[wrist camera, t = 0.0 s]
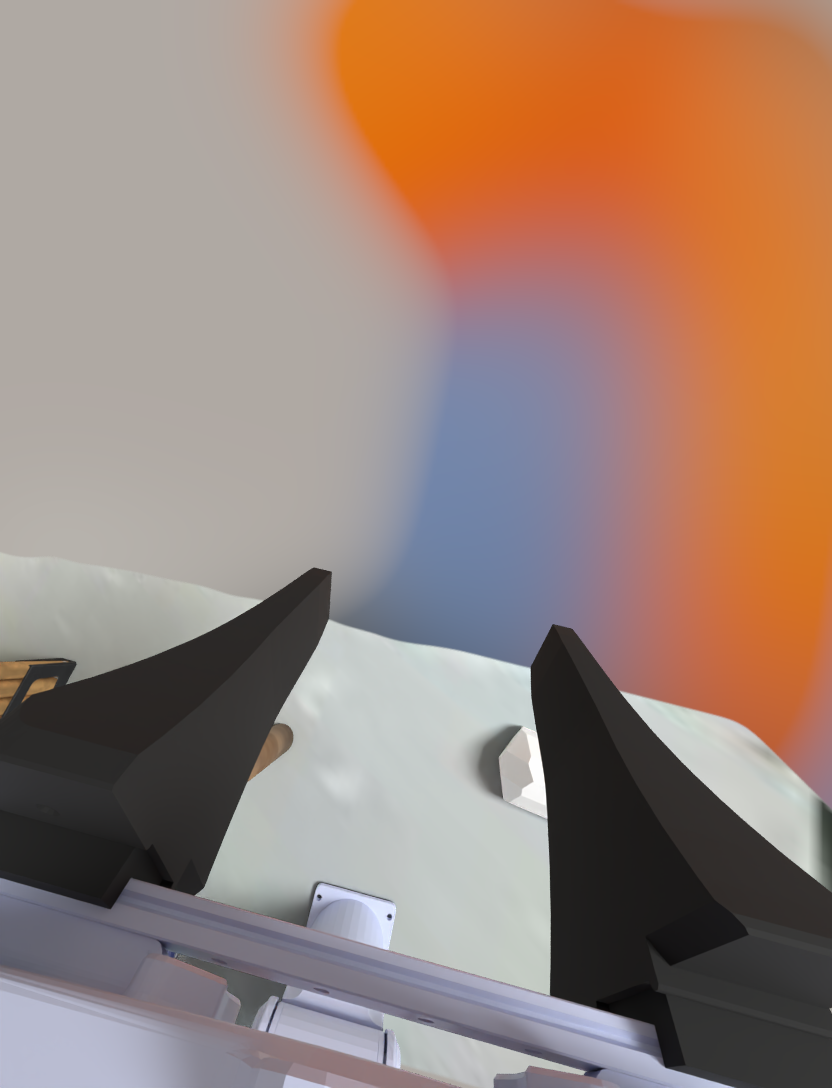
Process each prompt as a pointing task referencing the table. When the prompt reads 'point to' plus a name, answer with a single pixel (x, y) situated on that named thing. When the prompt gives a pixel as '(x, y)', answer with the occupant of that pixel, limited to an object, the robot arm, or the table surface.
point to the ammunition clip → (30, 679)
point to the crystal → (523, 773)
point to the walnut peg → (273, 747)
